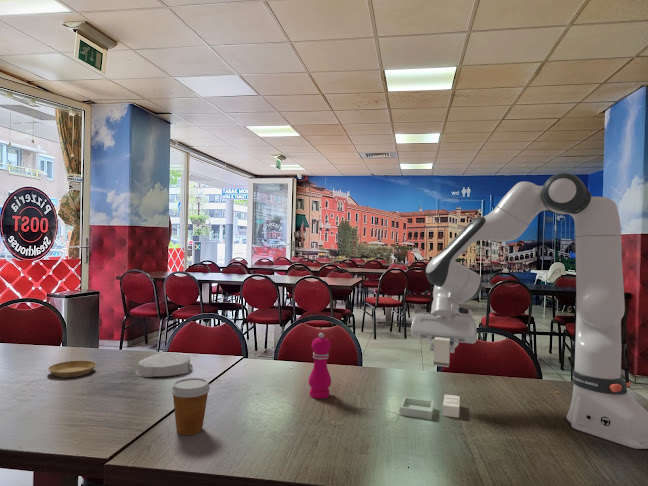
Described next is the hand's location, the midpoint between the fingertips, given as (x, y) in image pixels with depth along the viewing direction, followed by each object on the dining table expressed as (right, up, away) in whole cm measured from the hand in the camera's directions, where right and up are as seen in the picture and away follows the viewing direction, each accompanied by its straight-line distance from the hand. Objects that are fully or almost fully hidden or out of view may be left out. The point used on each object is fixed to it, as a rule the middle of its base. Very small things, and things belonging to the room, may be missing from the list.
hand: (441, 350), depth 135 cm
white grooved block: (+2, -17, -4) cm, 17 cm away
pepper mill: (-38, -16, +5) cm, 41 cm away
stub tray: (-9, -16, -6) cm, 20 cm away
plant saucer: (-125, -13, +21) cm, 128 cm away
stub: (0, -4, +1) cm, 4 cm away
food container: (-95, -14, +28) cm, 100 cm away
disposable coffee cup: (-70, -15, -23) cm, 75 cm away
